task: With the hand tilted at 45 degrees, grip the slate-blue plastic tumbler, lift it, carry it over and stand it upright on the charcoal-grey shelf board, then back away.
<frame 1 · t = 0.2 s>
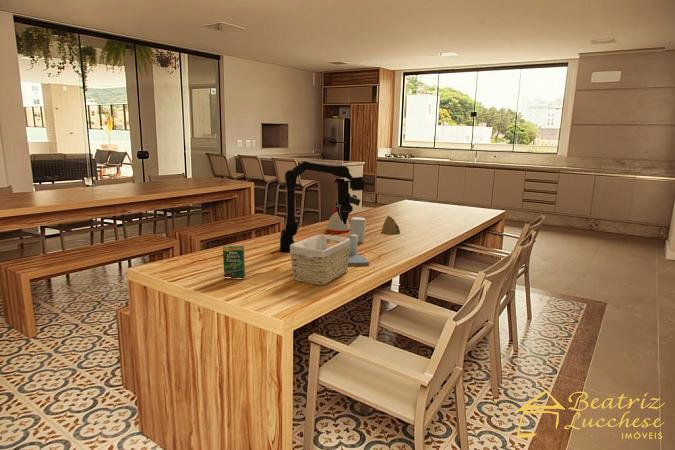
hand: (343, 222, 217), 14 cm above the table, tool pointing down, fingers open, 9 cm apart
rock: (391, 233, 262), on the table
coffee box: (234, 278, 172), on the table
supplement box: (357, 241, 240), on the table
kitchen timer: (338, 231, 264), on the table
storage basket: (320, 276, 178), on the table
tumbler: (352, 255, 210), on the table
shelf board: (350, 262, 199), on the table
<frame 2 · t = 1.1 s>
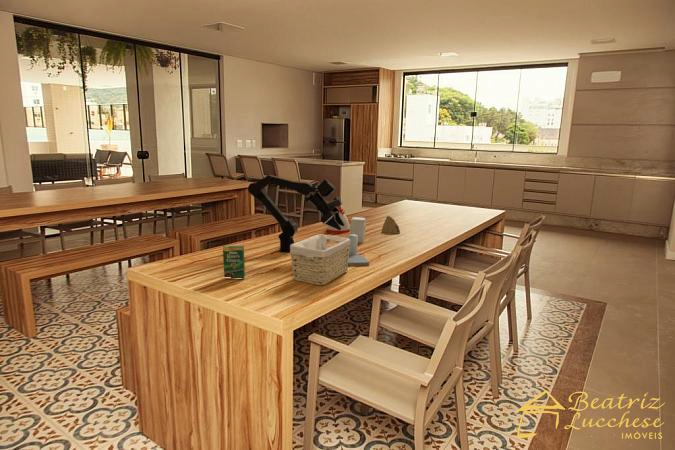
hand: (342, 227, 208), 13 cm above the table, tool tilted 45°, fingers open, 9 cm apart
nothing on the table moved.
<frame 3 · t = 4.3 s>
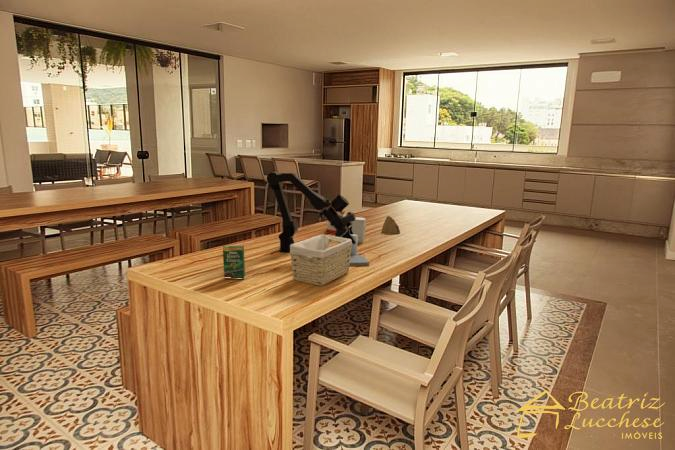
hand: (355, 242, 209), 7 cm above the table, tool tilted 45°, fingers closed on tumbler, 4 cm apart
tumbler: (352, 255, 210), on the table, touching gripper
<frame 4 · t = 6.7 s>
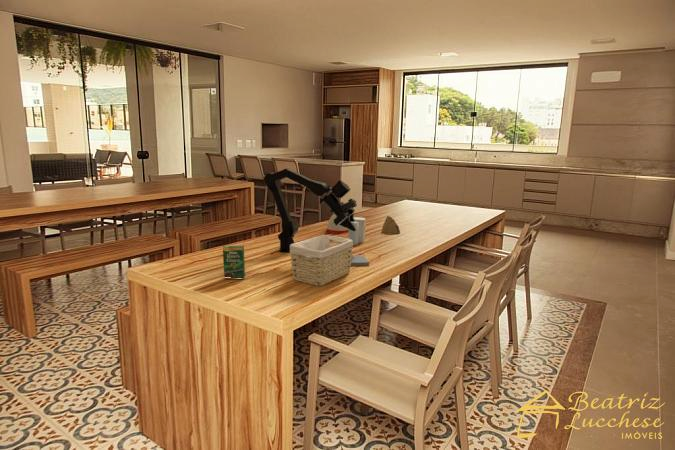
hand: (356, 229, 204), 14 cm above the table, tool tilted 45°, fingers closed on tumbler, 4 cm apart
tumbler: (353, 243, 205), point 7 cm above the table, touching gripper
when the fingers open (9 cm above the table, at t = 8.9 s): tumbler drops 1 cm, resting on shelf board.
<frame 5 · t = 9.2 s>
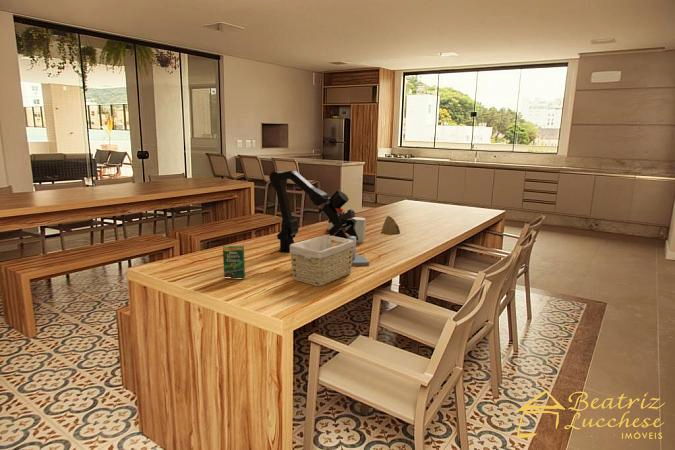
hand: (354, 241, 197), 10 cm above the table, tool tilted 45°, fingers open, 8 cm apart
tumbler: (350, 258, 200), point 2 cm above the table, touching shelf board
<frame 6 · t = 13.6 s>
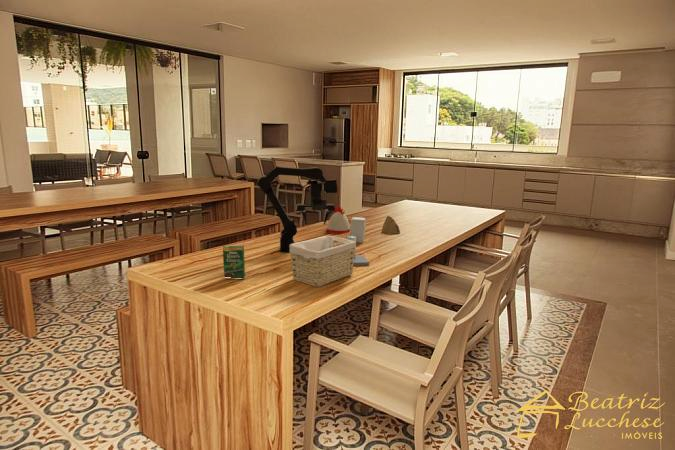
hand: (315, 224, 215), 13 cm above the table, tool pointing down, fingers open, 9 cm apart
at the end: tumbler inside the target area on the shelf board (0.3 cm from its centre), point 1.5 cm above the shelf board's base; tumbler tilted 0°; the gripper is holding nothing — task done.
